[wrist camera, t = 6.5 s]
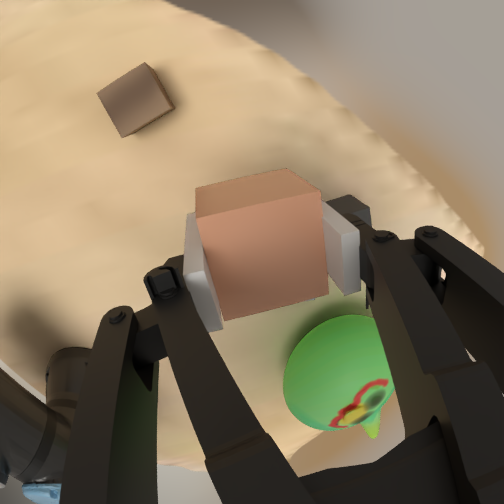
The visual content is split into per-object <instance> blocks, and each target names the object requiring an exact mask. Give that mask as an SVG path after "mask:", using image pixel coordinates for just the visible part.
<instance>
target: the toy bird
mask: <svg viewBox="0 0 504 504" xmlns="http://www.w3.org/2000/svg"><path fill="white" fill-rule="evenodd" d="M394 389H395V387H394V383H393V380H392V376H391V372H390V369H389V365H388V362H387V358H386V355H385V352H384V348H383V345H382V342H381V338H380V335H379V332H378V329H377V326H376V323H375V320H374V319H373V318H371V317H367V316H363V315H343V316H338V317H335V318H332V319H329V320H327V321H325V322H323V323H321V324H320V325H318V326H316V327H315V328H314V329H312V330H311V331H310V332H309V333H308V334H307V335H305V336H304V338H303V339H302V340H301V341H300V342H299V343H298V344H297V346H296V347H295V349H294V350H293V352H292V354H291V356H290V358H289V360H288V362H287V365H286V368H285V372H284V378H283V392H284V397H285V401H286V404H287V406H288V408H289V410H290V411H291V412H292V414H293V415H294V416H295V417H296V418H297V419H298V420H299V421H301V422H302V423H304V424H306V425H307V426H310V427H312V428H315V429H319V430H326V431H334V430H342V429H346V428H349V427H352V426H354V425H357V424H358V423H360V424H361V425H362V426H363V428H364V430H365V431H366V433H367V434H368V435H369V437H370V438H372V439H374V438H376V437H377V435H378V432H379V426H380V412H381V407H382V406H383V405H384V404H385V403H386V401H387V400H388V399H389V397H390V396H391V394H392V393H393V391H394Z"/></svg>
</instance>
